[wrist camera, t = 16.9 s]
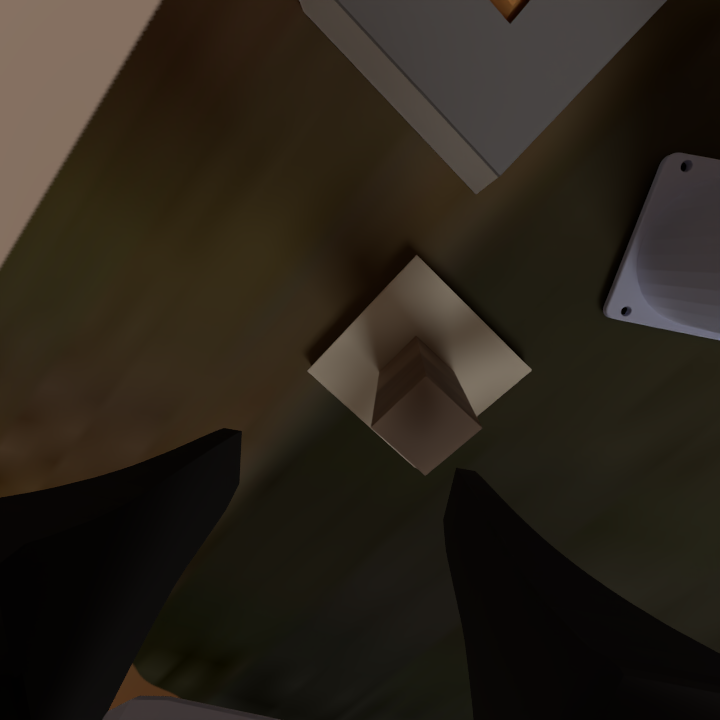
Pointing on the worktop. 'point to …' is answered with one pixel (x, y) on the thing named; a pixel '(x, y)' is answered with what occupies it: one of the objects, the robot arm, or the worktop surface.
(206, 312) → the worktop surface
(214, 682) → the worktop surface
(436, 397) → the brown rectangular block
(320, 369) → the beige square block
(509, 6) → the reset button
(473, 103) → the switch box
